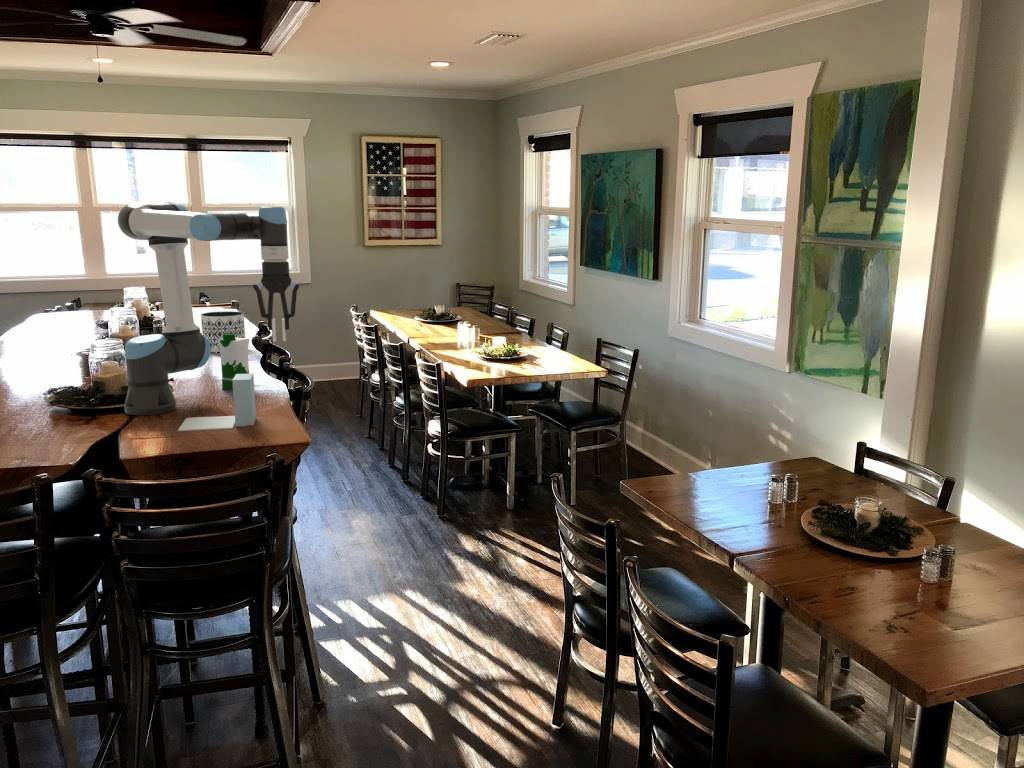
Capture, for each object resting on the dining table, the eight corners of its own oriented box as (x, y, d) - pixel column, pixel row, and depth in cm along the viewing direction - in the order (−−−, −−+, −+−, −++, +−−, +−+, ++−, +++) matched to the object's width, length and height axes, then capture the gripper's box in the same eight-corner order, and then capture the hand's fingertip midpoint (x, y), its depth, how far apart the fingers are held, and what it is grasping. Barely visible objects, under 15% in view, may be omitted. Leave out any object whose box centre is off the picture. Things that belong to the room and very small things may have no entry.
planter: (237, 353, 356) (235, 316, 353) (197, 353, 356) (194, 316, 353) (251, 346, 374) (249, 311, 370) (212, 346, 374) (209, 311, 371)
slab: (235, 426, 237) (232, 380, 234) (239, 418, 246) (236, 374, 243) (253, 425, 238) (250, 379, 235) (256, 418, 247) (253, 373, 244)
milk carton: (218, 390, 284) (214, 334, 280) (236, 385, 292) (233, 330, 288) (237, 392, 280) (233, 336, 276) (255, 387, 288) (252, 332, 284)
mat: (177, 431, 231) (177, 429, 231) (186, 419, 245) (186, 417, 245) (232, 428, 235) (232, 427, 234) (238, 416, 248) (238, 415, 248)
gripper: (246, 261, 229) (251, 343, 234) (301, 261, 232) (305, 342, 237) (249, 260, 236) (254, 339, 241) (302, 259, 239) (306, 338, 244)
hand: (279, 340), depth 239 cm, fingers open, 2 cm apart
